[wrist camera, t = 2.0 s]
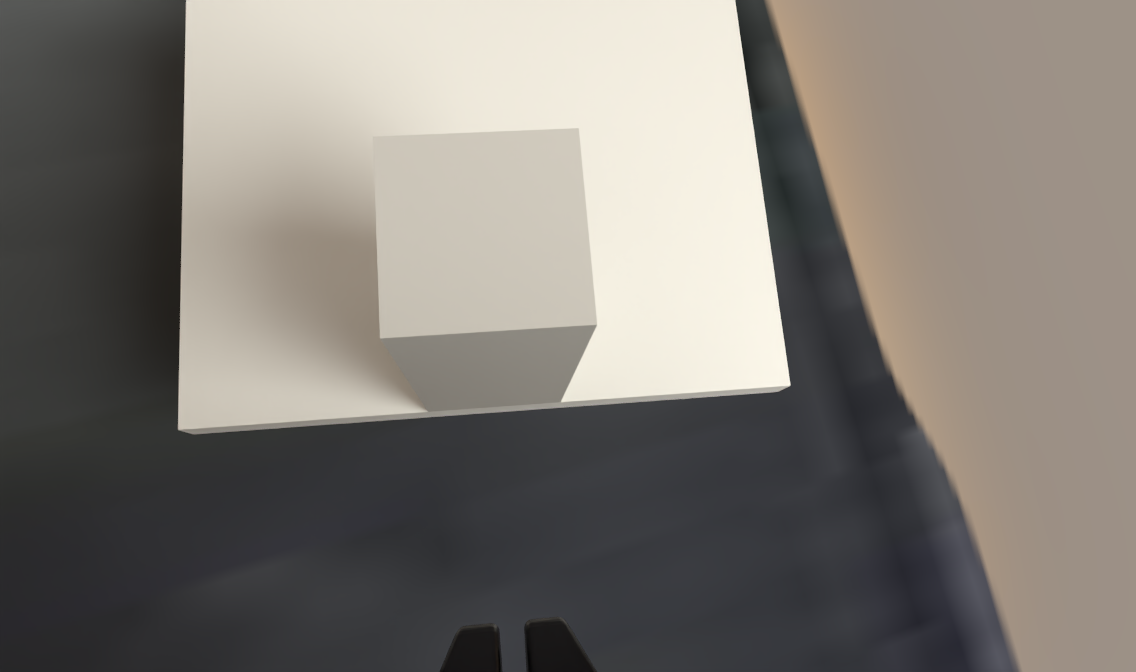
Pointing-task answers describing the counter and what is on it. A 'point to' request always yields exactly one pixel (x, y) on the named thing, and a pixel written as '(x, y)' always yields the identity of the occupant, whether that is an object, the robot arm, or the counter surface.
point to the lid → (467, 210)
